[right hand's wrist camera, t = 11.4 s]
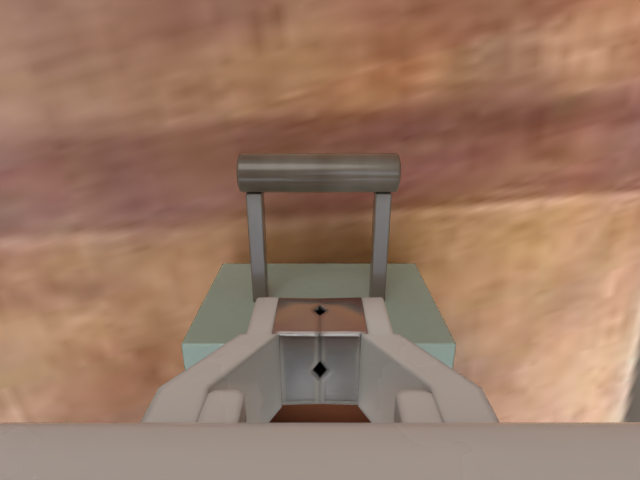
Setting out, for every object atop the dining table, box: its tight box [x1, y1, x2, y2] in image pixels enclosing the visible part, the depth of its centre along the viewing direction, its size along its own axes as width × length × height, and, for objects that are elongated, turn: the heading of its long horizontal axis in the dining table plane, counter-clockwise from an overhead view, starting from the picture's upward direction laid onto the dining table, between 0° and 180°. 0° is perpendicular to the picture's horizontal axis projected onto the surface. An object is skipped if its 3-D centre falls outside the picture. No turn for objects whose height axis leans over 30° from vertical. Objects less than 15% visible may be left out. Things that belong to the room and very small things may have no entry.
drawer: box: [182, 153, 456, 423], centre depth 20 cm, size 23×10×7 cm, turn 0°
